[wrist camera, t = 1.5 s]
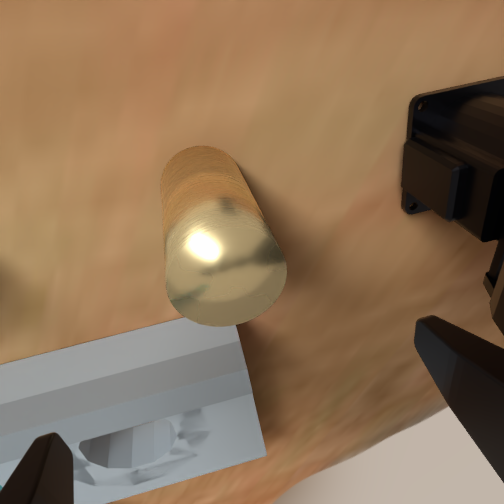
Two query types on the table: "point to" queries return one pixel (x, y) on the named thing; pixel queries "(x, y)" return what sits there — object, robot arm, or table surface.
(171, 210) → the brass cylinder
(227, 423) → the jig
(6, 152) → the table surface
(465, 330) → the robot arm
